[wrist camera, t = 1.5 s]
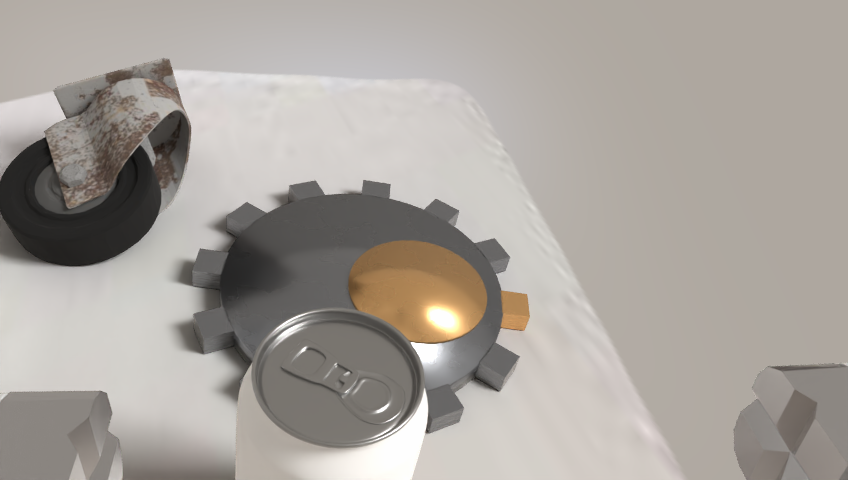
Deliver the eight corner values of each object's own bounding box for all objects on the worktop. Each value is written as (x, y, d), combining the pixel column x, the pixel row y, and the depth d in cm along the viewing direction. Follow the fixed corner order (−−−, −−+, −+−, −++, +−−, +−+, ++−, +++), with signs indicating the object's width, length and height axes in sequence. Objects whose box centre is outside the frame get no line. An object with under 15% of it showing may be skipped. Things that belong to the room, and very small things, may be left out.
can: (336, 658, 29) (378, 498, 21) (200, 571, 31) (192, 393, 23) (412, 522, 34) (468, 351, 26) (291, 454, 35) (310, 272, 28)
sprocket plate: (146, 414, 36) (144, 396, 35) (232, 174, 50) (232, 157, 49) (538, 460, 37) (545, 444, 36) (512, 216, 52) (517, 201, 51)
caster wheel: (42, 307, 42) (11, 181, 47) (236, 239, 46) (188, 128, 51) (-7, 238, 37) (-37, 104, 42) (217, 167, 40) (166, 50, 45)
